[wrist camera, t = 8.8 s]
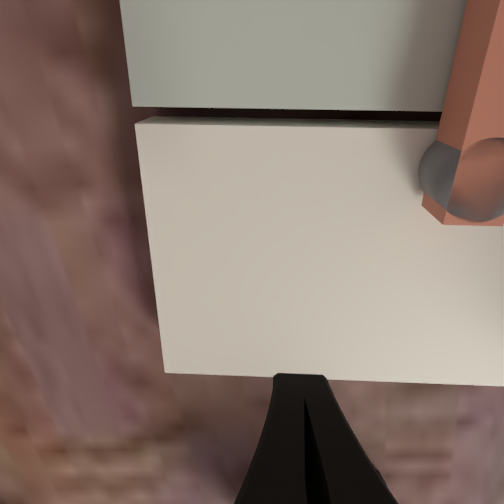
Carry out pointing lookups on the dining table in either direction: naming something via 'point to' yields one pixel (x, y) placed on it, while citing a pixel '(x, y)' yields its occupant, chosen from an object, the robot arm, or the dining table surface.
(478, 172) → the bar
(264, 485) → the robot arm
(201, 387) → the dining table surface
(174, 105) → the pale square platform
